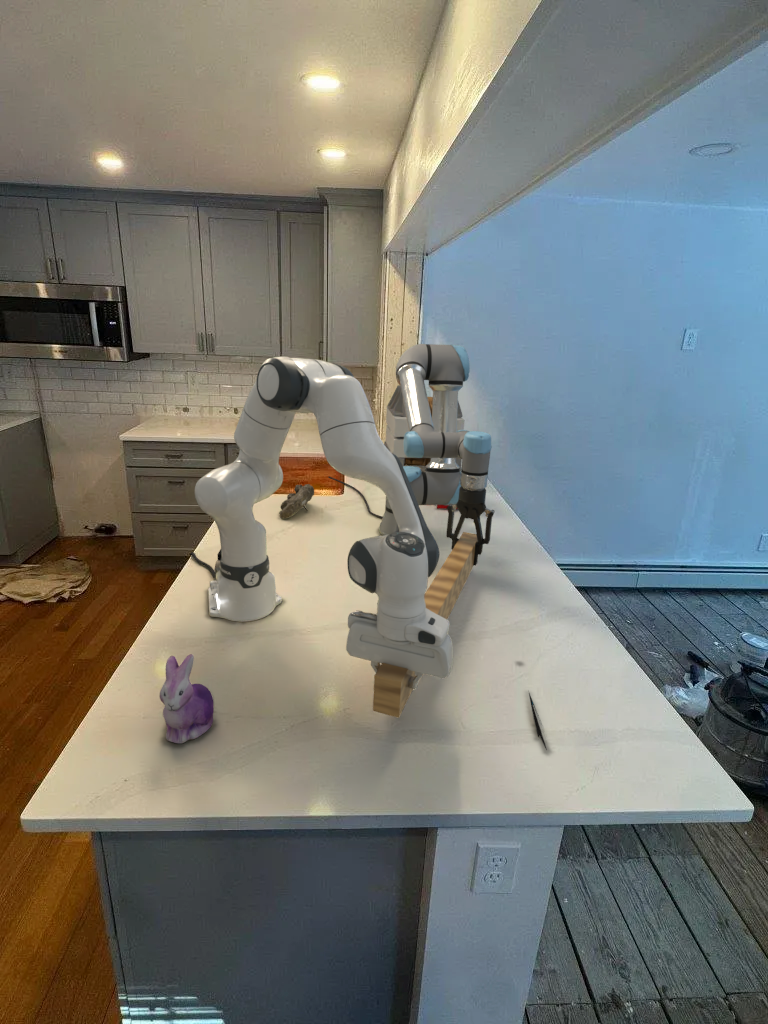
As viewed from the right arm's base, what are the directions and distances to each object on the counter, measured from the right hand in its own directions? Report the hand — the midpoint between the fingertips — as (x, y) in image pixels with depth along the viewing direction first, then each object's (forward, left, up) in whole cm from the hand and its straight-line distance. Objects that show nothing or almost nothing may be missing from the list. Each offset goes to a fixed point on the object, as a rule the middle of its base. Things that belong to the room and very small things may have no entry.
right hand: (465, 561), depth 168 cm
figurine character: (-44, -53, -5) cm, 69 cm away
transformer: (-90, +68, -5) cm, 112 cm away
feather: (+47, -33, -5) cm, 58 cm away
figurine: (+12, -90, -5) cm, 91 cm away
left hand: (+33, -57, +2) cm, 66 cm away
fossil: (-77, -10, -5) cm, 77 cm away
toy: (-56, +49, -5) cm, 75 cm away
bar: (+16, -29, -1) cm, 33 cm away
